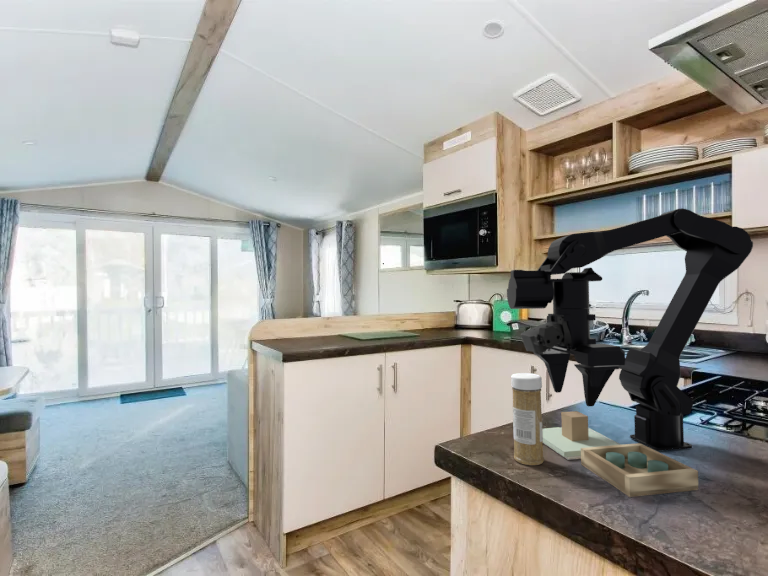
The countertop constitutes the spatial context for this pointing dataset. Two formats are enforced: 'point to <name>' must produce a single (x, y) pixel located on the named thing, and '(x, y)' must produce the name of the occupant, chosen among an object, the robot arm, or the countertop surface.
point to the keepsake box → (639, 469)
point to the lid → (574, 435)
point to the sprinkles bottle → (527, 418)
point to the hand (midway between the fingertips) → (572, 398)
